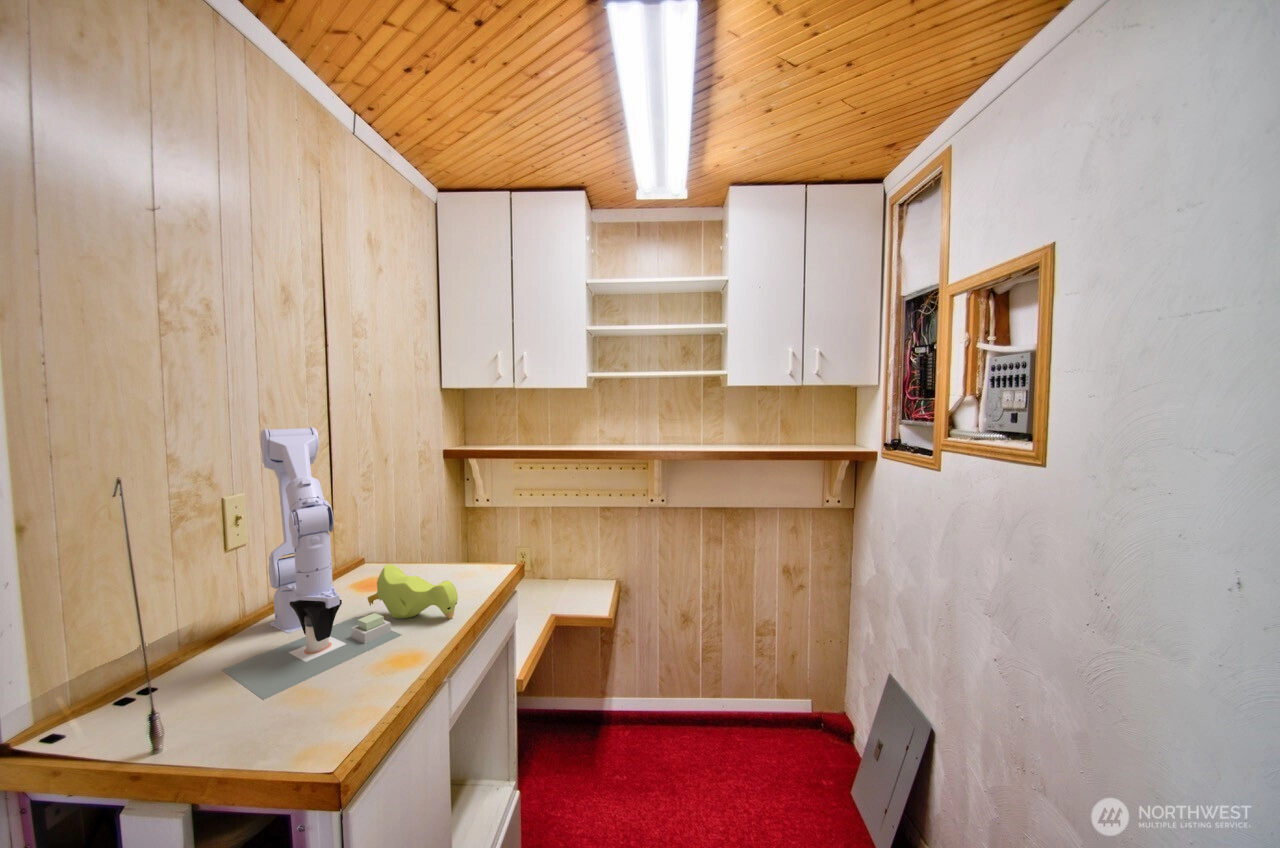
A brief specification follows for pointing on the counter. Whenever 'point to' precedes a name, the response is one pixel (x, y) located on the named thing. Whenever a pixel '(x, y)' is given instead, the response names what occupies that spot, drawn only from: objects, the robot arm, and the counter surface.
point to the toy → (412, 594)
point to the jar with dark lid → (313, 638)
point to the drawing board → (306, 658)
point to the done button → (370, 622)
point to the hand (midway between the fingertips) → (317, 635)
